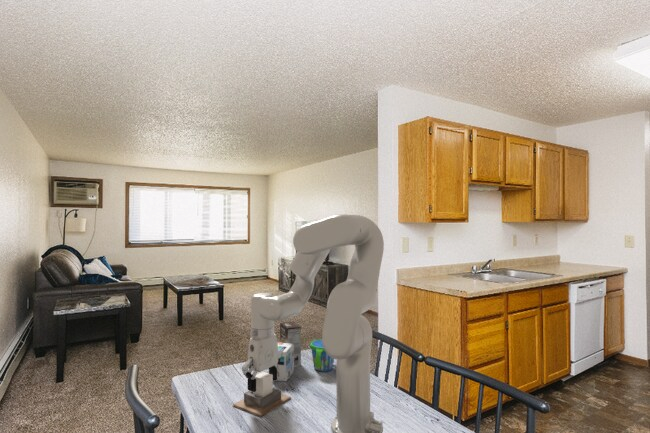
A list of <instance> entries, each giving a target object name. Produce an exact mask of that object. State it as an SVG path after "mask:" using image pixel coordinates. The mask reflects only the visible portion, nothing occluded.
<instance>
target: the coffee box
mask: <svg viewBox="0 0 650 433" xmlns="http://www.w3.org/2000/svg"><path fill="white" fill-rule="evenodd" d="M279 332H280V334H279V339H280V341H279V343H291V344H294V368H296V367H300V366H302V326H300V325H299V324H298V323H296V322H295V321H284V322H283V321H282V322H280V323H279Z"/></svg>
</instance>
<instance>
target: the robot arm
mask: <svg viewBox="0 0 650 433" xmlns="http://www.w3.org/2000/svg"><path fill="white" fill-rule="evenodd" d="M292 243H293V247H294V249H295V250H296V254H295V255H294V257H293V258H292V260H291V262H290V265H289V267H290V270H291V272H292V273H293V274H294V275H295V279H294V283H292V286H291V287H290V289H289V291H288V292H285V293H283V294H279V295H276V296H274V295H273V294H272V293H270V292H258V293H255V294H253V295H252V296H251V299H250V332H249V335H250V338H249V343H248V351H247V361H246V362H245V363H244V364H243V365H242V366H241V370H242V373H243V376H244V377H245V378H247V391H252V392H256V379H255V376H256V375H257V374H258V373H261V372H265V370H268V373H269V374H272V375H273V382H276V381H278V380H277V368H278V364H279V362H280V357H281V354H282V352H280V351H278V343H279V342H278V339H277V335H276V333H275V322H280V321H284V320H286V319H288V318H291V317H294V316H296V315H298V314H299V313H300V312H301V311H303V309H304V307H305V306H306V305H307V303H308V301H309V300H310V299H311V298H310V297H311V296H312V295H313V293H314V292H313V290H314V287H315V278H316V276H317V274H318V272H319V271H320V269H321V267H322V265H323V263H324V262H325V260H326V258H327V257H328V255H329V253H330V251H331V250H333V249H336V248H341V247H347V246H354V252H353V254H352V256H351V259H350V263H349V269H348V275H347V277H346V280H345V281H343V282H340V283H339V284H337V285H336V286H335V287H334V288H333V289H332V290H331V291H330V294H329V297H328V300H327V302H326V303H327V304H326V308H325V309H326V310H325V315H324V321H323V326H322V333H321V339H322V344H323V348H324V350H325V352H326V353H327V354H328V355H329V356H330V357H331V358H333V359H334V360H336V370H335V371H336V372H335V374H336V376H335V377H336V384H335V385H336V386H335V387H336V388H335V389H336V416H335V417H334V418H333V419H332V420H331V422H330V429H331V432H332V433H383V431H384V426H383V421H382V420H377V419H376V418H375V414H374V412H373V411H371V353H372V343H373V329H372V325H371V322H370V321H369V319H367V317H365V316H364V315H362V314H364V313H365V312H368V311H370V309H372V307H373V306H374V304H375V301H376V296H377V290H378V283H379V278H380V272H381V266H382V261H383V257H384V249H385V247H384V246H385V243H384V236H383V233H382V232H381V228H379V226H378V225H377V223H375V222H374V221H373V220H372V219H370V218H368V217H366V216H364V215H361V214H360V215H359V214H347V213H346V214H337V215H336V214H335V215H332V216H329V217H326V218H323V219H320V220H317V221H314V222H311V223H306V224H303V225H302V226H300V227H299V228H298V229H297V230H296V231H295V233H294V236H293V240H292Z"/></svg>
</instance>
